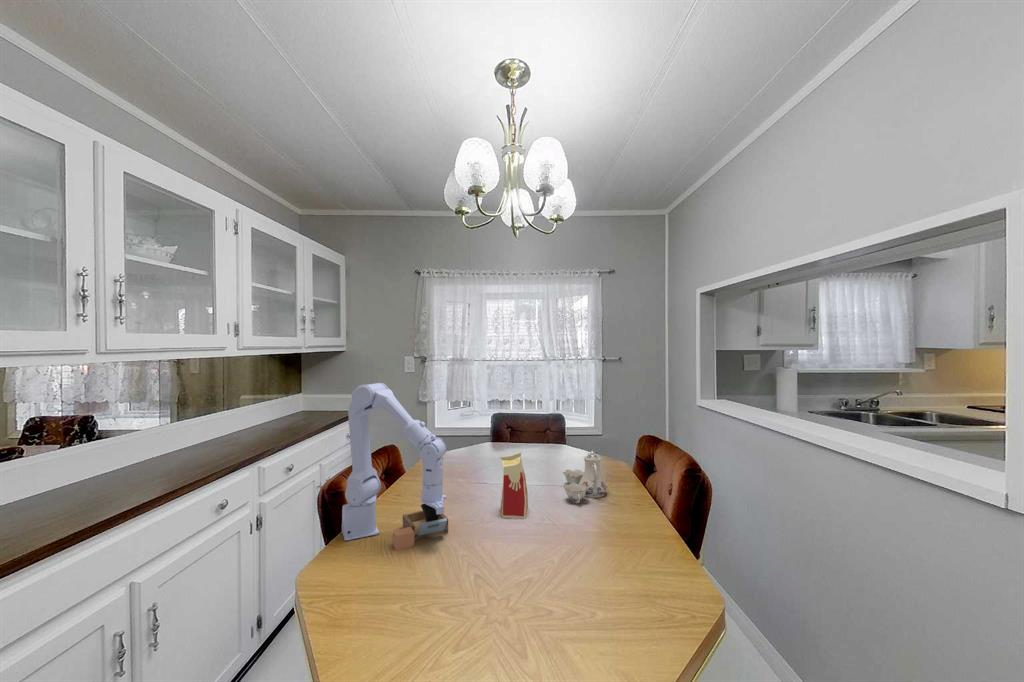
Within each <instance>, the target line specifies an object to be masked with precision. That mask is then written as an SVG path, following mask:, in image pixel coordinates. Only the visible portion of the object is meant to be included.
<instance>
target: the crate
mask: <svg viewBox="0 0 1024 682" xmlns="http://www.w3.org/2000/svg"><path fill="white" fill-rule="evenodd" d="M444 518H447V523H446V526H445V529H444V530H443V531H438V532H434V533H429V534H425V535H420V536H418V530H419V526H420V523H425V522H426V519H425V515H424V512H423V510H418V511H412V512H408V513H403V514H402V528H407V527H411V528H412V529H413V531H414V541H416V540H423V539H426V538H431V537H436V536H439V535H443V534H448V533H449V518H448V517H447V516H446V514H445V513H443V514H440V515H439V517H438V520H440V519H444Z"/></svg>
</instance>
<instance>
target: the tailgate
mask: <svg viewBox="0 0 1024 682" xmlns="http://www.w3.org/2000/svg"><path fill="white" fill-rule="evenodd" d="M447 518H448V517H447ZM447 518H444V519H440V520H435V521H430V522H425V523H420V526H419V530H418V536H420V535H425V534H429V533H434V532H438V531H443V530H444V529H445V526H446V523H447Z"/></svg>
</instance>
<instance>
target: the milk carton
mask: <svg viewBox="0 0 1024 682" xmlns="http://www.w3.org/2000/svg"><path fill="white" fill-rule="evenodd" d="M499 458H500V459H501V462H502V466H503V474H502V475H503V476H502V479H503V480H502V491H501V492H502V493H501V500H500V502H501V503H500V508H499V509H500V510H499V513H500V516H501V518H502V519H520V520H526V518H527V514H528V510H529V495H528V485H527V479H526V473H525V470H524V465H523V462H522V452H518V453H515V454H512V455H506V456H499Z"/></svg>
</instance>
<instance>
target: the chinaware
mask: <svg viewBox="0 0 1024 682" xmlns="http://www.w3.org/2000/svg"><path fill="white" fill-rule="evenodd" d="M601 459H602V457H600V456H598V455H597V454H595V452H594V450H591V451H590V452H589V453H587V456H586V455H585V456H584V457H583V460H584V471H582V470H580V469H574V470H572V469H566V470H565V471H563V472H562V474H563V475H564V477H565V480H566V481H567V483H568V484H564V485H563V488H564V491H565V494H566V496H567V497H568V499H570V500H571V501H570V502H571V503H573V504H580V502H581V501H582V500H584V498H585V497H587V498H591V499H598V498H602V497H604V496H605V494H604V493H606V490H608V484H607V482H606V481H605V479H604V477H603V475H602V473H601Z"/></svg>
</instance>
